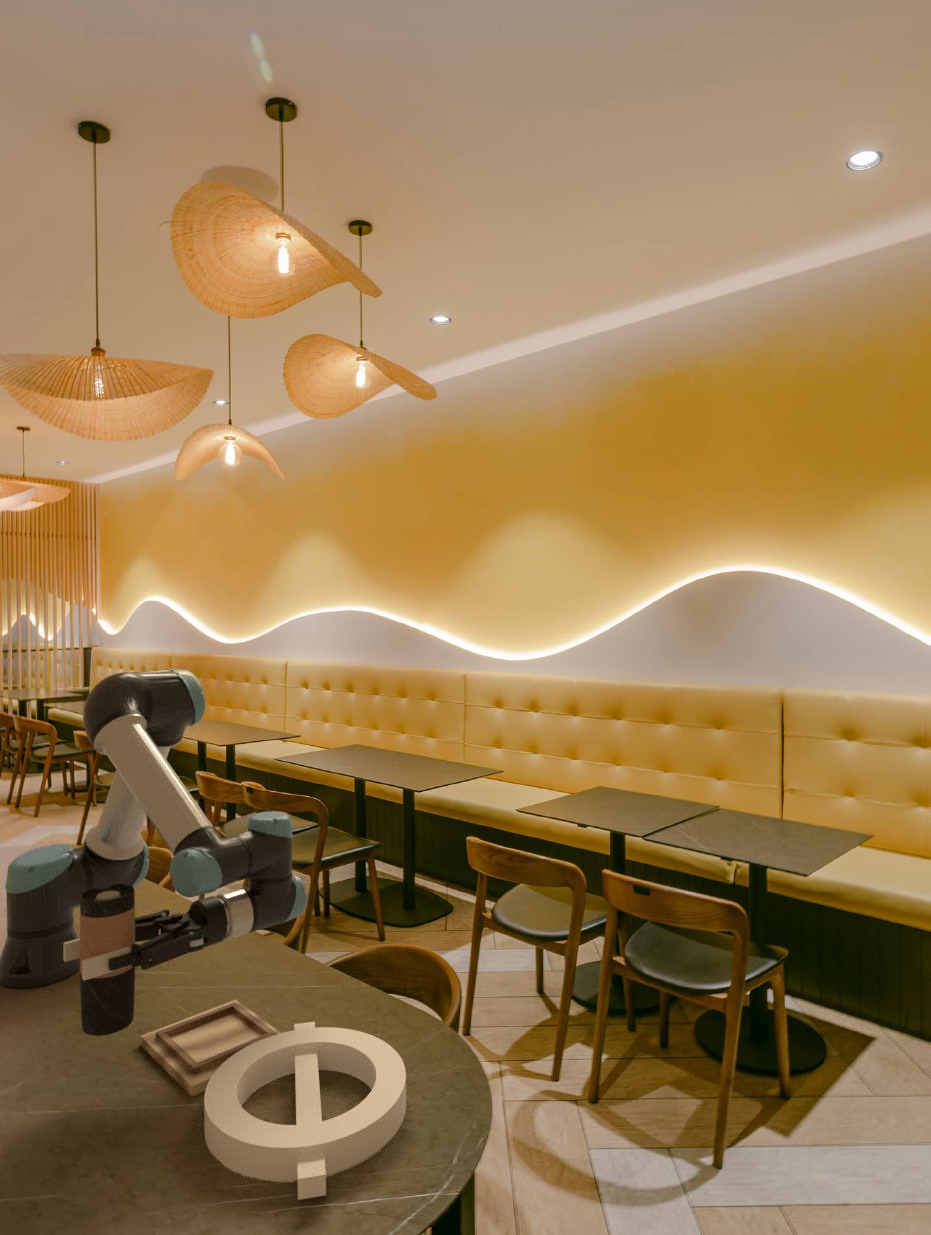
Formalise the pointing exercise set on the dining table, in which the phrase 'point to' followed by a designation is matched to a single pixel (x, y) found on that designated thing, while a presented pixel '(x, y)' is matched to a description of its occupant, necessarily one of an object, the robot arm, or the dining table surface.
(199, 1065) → the board
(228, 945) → the dining table surface
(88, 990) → the travel mug
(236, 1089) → the ring with crossbar
